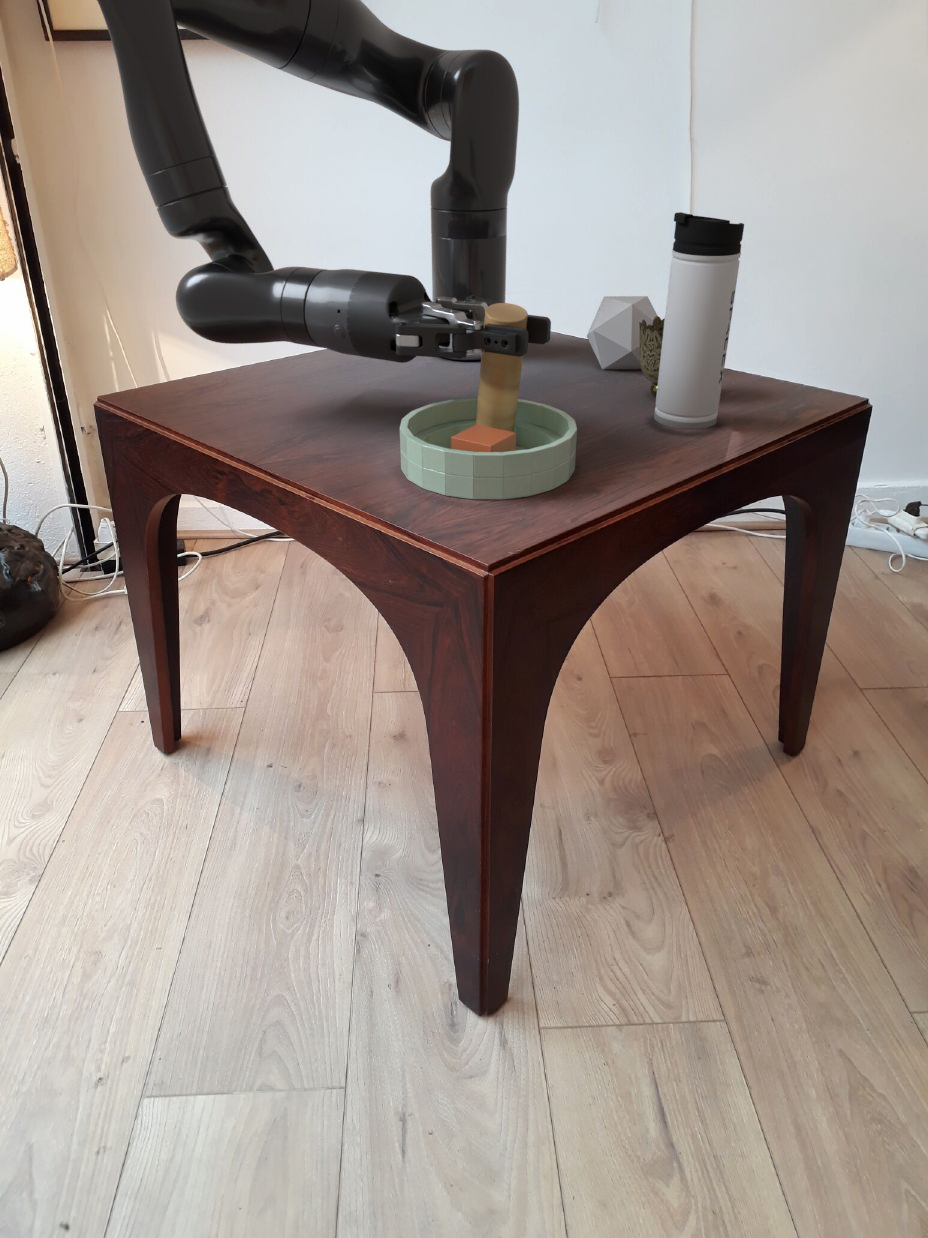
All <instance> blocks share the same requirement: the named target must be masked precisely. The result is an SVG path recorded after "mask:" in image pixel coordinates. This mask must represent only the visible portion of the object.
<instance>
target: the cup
mask: <svg viewBox="0 0 928 1238" xmlns="http://www.w3.org/2000/svg"><path fill="white" fill-rule="evenodd" d="M664 321H665V317H664V318H663V319H661V317H660V316H658V315H657V316H656V317H655V318H654V320H653V325H649V324H648V326H647V324H646V321H645V320H644V319H643V320H642V323H641V322H639V329H640V363H641V369H640V370H641V371H642V374H643V376H644V377H645V378H646V379H647V380H648V381H649V382H650V383H651V385H650V386H649V387H650V388H649V389H650V393H651V396H653V397H654V398H656V395H657V386H658V377H659V367H660V358H661V349H662V340H663V330H664Z"/></svg>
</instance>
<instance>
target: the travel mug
mask: <svg viewBox="0 0 928 1238" xmlns="http://www.w3.org/2000/svg"><path fill="white" fill-rule="evenodd" d="M673 222H674V223H675V227H674V236H673V237H674V242H673V244H672V249H671V256H672V257H671V259H670V266H669V276H668V284H667V285H668V286H667V295H666V305H665V312H664V318H665V321H664V330H663V340H662V349H661V358H660V367H659V377H658V386H657V395H656V397H655V408H654V414H653V415H654V416H653V419H654V420H655V421H656V422H657V423H659V424H661V425H663V426H665V427H670V428H675V429H683V430H701V429H702V430H703V429H707V428H710V427H713V426H715V425H717V423H718V422H717V421H718V415H719V412H718V410H719V406H720V399H721V393H722V388H723V387H722V386H723V380H724V373H725V366H726V359H727V354H728V353H727V351H728V345H729V339H730V331H731V324H732V319H733V318H732V317H733V311H734V303H735V297H736V288H737V283H738V275H739V268H740V262H741V261H740V260H739V259H740V258H741V255H742V251H741V250H742V244H741V242H742V241H743V236H744V229H745V223H743V222H739V223H732V222H731V220H729V219H723V218H716V217H711V216H710V217H709V216H701V215H694V214H692V213H687V212H686V213H685V212H675V213H674V215H673Z"/></svg>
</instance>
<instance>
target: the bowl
mask: <svg viewBox="0 0 928 1238" xmlns="http://www.w3.org/2000/svg"><path fill="white" fill-rule="evenodd" d="M477 403H478V396H477V397H476V396H475V397H465V398H455V399H454V398H453V399H448V400H442V401H437V402H433V403H428V404H425V405H424V406H421V407H419V408H416V409H414V410H411V411H409V413H407V414H406V415H405V416H404V417H402V418H401V420H400V425H399V443H400V444H399V447H400V470H401V472H402V473H403V475H404V476H405V478H406V479H407V480H408V481H409V482H411V483H413V484H414V485H416V486H418V487H419V488H421V489H423V490H425V491H429V492H431V493H435V494H439V495H443V496H446V497H453V498H459V499H467V500H499V501H500V500H501V501H502V500H511V499H519V498H528V497H532V496H535V495H539V494H543V493H546V492H549V491H552V490H555V489H556V488H558V487H561V486H562V485H563V484H565V483H566V482H569V480H570V479H571V477H572V475H573V474H574V472H575V469H576V457H577V456H576V455H577V441H578V439H577V438H578V426H577V423H576V420H575V419H574V418H573V417H572V416H571V415H569V414H568V413H567V412H566V411H564V410H561V409H559V408H556V407H555V406H551V405H549V404H547V403H546V404H545V403H541V402H537V401H531V400H527V399H519V398H518V403H517V412H516V420H515V429H514V432H515V433H516V451H508V452H471V451H463V450H454V449H451V437H452V436H455V435H457V434H459V433H461V432H463V431H465V430H467V429H469V428H471V427H473V426H475V425H476V415H477Z"/></svg>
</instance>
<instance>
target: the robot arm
mask: <svg viewBox="0 0 928 1238" xmlns="http://www.w3.org/2000/svg"><path fill="white" fill-rule="evenodd" d="M96 1H97V4H98V6H99V9H100V11H101V14H102V15H103V20H104V22H105V25H106V27H107V30H108V34H109V37H110V40H111V43H112V47H113V51H114V55H115V59H116V64H117V69H118V73H119V78H120V83H121V90H122V96H123V101H124V108H125V114H126V119H127V126H128V131H129V135H130V139H131V143H132V146H133V151H134V154H135V157H136V160H137V162H138V166H139V168H140V170H141V174H142V175H143V178H144V180H145V183H146V185H147V189H148V191H149V194H150V196H151V198H152V200H153V203H154V206H155V208H156V211H157V213H158V217H159V219H160V220H161V223H162V225H163V227H164V229H165V231H166V232H167V234H168V235H170V236H171V237H173V238H174V239H178V240H191V241H192V240H193V241H196V242H198V243H199V245H200V246H201V247H202V249H203V250H204V251H205V253H206V254H207V256H208V257H209V259H210V261H209V262H207V263H204V264H200V265H198V266H195V267H194V268H192V269H189V271H187V272H186V273H185V274H184V275H183V276H182V278H181V279H180V280H179V282H178V285H177V287H176V291H175V306H176V309H177V311H178V314H179V316H180V318H181V320H182V322H183V323H184V324H185V326H186V327H187V328H189V329H190V330H191V331H192V332H193V333H195V334H196V335H197V336H199V337H201V338H203V339H205V340H206V341H207V340H208V341H210V342H214V343H219V344H226V345H227V344H229V345H233V344H234V345H235V344H236V345H241V344H244V345H245V344H246V345H247V344H265V343H279V342H281V343H282V342H286V343H288V342H289V343H292V344H297V345H301V346H309V347H314V348H321V349H327V350H330V351H333V352H336V353H338V354H339V353H340V354H343V355H348V356H354V357H355V356H356V357H362V358H369V359H375V360H380V361H381V360H382V361H388V362H395V363H401V364H404V363H409V362H412V360H414V359H415V358H416V357H429V358H443V359H449V360H456V361H481V355H482V353H483V352H489V353H496V354H503V355H510V356H517V357H521V356H523V357H524V355H527V353H528V351H529V344H535V345H540V346H541V345H546V344H548V343H549V342H550V340H551V331H552V330H551V329H552V321H551V319H550V318H549V317H548V316H542V315H541V316H540V315H535V314H534V315H533V314H528V318H527V327H526V329H525V328H521V327H513V326H506V325H495V324H490V323H488V324H486V325H485V328H484V319H485V310H486V308H487V307H488V306H490V305H492V304H497V303H506V292H507V291H506V290H507V288H506V287H507V246H508V245H507V240H508V236H507V235H508V234H507V233H508V232H507V231H508V200H509V199H508V198H509V192H510V189H511V186H512V185H513V181H514V178H515V173H516V163H517V149H518V147H517V146H518V136H519V135H518V133H519V121H520V119H519V118H520V93H519V85H518V80H517V76H516V73H515V71H514V68H513V66H512V65H511V63H510V62H509V60H508V59H507V58H506V57H505V56H504V55H503V54H501V53H500V52H497V51H495V50H491V49H461V50H460V49H456V50H455V49H454V50H453V49H443V48H439V47H435V46H432V45H428V44H425V43H422V42H420V41H418V40H415V39H412V38H410V37H408V36H404V35H403V34H400V33H399V32H397V31H395V30H393V29H392V28H390V27H389V26H387V25H386V24H385V23H384V22H383V21H382V20H380V18H379V17H377V15H376V14H374V12H373V11H372V10H371V9H370V8H368V6H367V5H366V4H365V3H364V2H363V1H362V0H96ZM179 27H181V28H184V29H186V30H188V31H190V32H192V33H195V34H197V35H199V36H201V37H202V38H206V39H208V40H211V41H212V42H215V43H217V44H220V45H222V46H224V47H226V48H229V49H231V50H234V51H236V52H238V53H241V54H243V55H246V56H248V57H250V58H252V59H255V60H257V61H259V62H262V63H263V64H266V65H268V66H270V67H273V68H274V69H277V70H279V71H282V72H283V73H287V74H288V75H291V76H293V77H296V78H298V79H301V80H304V81H306V82H309V83H312V84H314V85H318V86H320V87H324V88H326V89H329V90H332V91H334V92H338V93H340V94H344V95H347V96H351V97H354V98H358V99H361V100H365V101H367V102H368V101H369V102H372V103H374V104H376V105H379V106H381V107H383V108H384V109H387V110H389V112H390V111H391V112H392V113H393V114H396V115H397V116H399V117H401V118H402V119H404V120H406V121H408V122H410V123H411V124H413V125H415V126H417V127H419V129H422V130H423V131H425V132H427V133H428V134H430V135H431V136H433V137H435V138H438V139H439V140H443V141H446V142H450V145H449V146H450V147H449V159H448V165H447V167H446V169H445V171H444V172H443V173H442V174H441V175H440V176H438V177H437V178H435V179H434V180H433V181H432V183H431V186H430V195H429V196H430V197H429V198H430V234H431V237H430V238H431V239H430V241H431V243H430V244H431V245H430V246H431V293H432V295H431V297H432V299H431V298H430V296H429V294H428V293H427V290H426V288H425V286H424V284H423V283H422V281H420V280H419V279H418V278H417V277H415V276H413V275H410V274H401V273H392V272H381V271H373V270H364V269H355V268H353V269H352V268H340V269H339V268H338V269H326V268H317V267H308V266H285V267H281V268H280V267H279V268H277V269H275V268H274V265H273V263H272V262H271V260H270V258H269V256H268V254H267V252H266V251H265V250H264V248H263V246H262V245H261V244H260V242H259V240H258V239H257V237H256V235H255V233H254V232H253V230H252V229H251V227H250V225H249V224H248V222H247V220H246V219H245V217H244V216H243V215H242V213H241V212H240V211H239V209H238V207H237V206H236V204H235V203H234V200H233V198H232V194H231V192H230V188H229V187H228V183H227V181H226V178H225V175H224V173H223V170H222V169H223V168H222V167H221V163H220V162H219V158H218V156H217V153H216V150H215V147H214V144H213V142H212V139H211V136H210V134H209V131H208V128H207V125H206V122H205V119H204V116H203V113H202V110H201V107H200V103H199V100H198V98H197V95H196V91H195V88H194V84H193V79H192V76H191V73H190V70H189V66H188V62H187V58H186V55H185V51H184V46H183V43H182V42H183V41H182V40H181V39H182V38H181V35H180V30H179Z"/></svg>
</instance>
